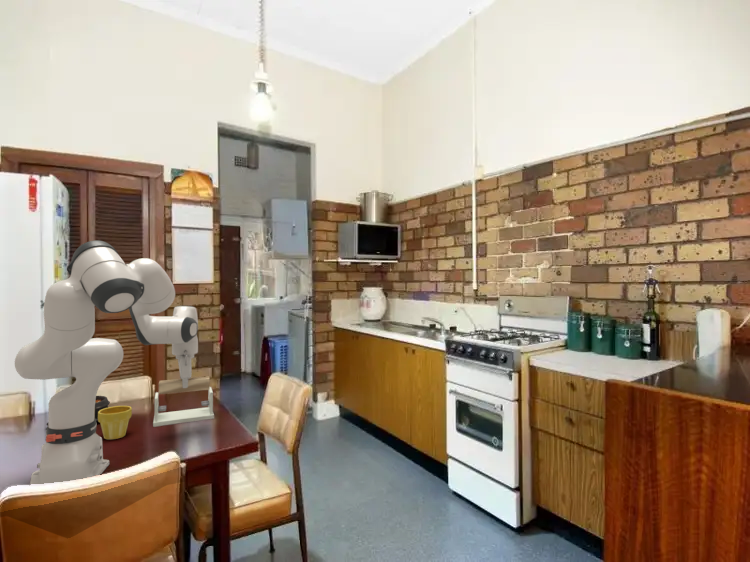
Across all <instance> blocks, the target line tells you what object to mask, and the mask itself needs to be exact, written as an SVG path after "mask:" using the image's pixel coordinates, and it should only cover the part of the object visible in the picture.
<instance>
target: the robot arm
mask: <svg viewBox="0 0 750 562" xmlns="http://www.w3.org/2000/svg"><path fill="white" fill-rule="evenodd" d="M66 271H67V273H68V274H69V275H70V276H69V277H68V278H66V279H63V280H62V279H61V280H58V281H56V282H55V283H53V284H52V285H50V286H49V287H48V289H47V290H46V293H45V298H44V302H43V320H44V331H43V332H44V333H43V334H42V335H41V336H40V337H39V338H38V339H36V340H34V341H32V342H31V343H27V344H26V345H24V346H22V347H21V348H20V349H19V350H18V352H17V354H16V356H15V359H14V369H15V371H16V372H17V374H18V375H19V376H20V377H21V378H23V379H26V380H41V381H42V380H43V381H44V380H45V381H47V380H53V379H54V380H56V379H64V378H75V381H74V382H73V383H72V384H71V385H69V386H67V387H65V388H64V389H61V390H59V391H58V392H56V393H55V394H54V395H53V396H52V397H51V398H50V399H49V401H48V422H49V424H48V426H47V425H46V426H47V427H46V431H45V442H44V444H42V445H41V456H40V462H38V463H37V464H36V468H37V470H35V471H33V472H32V473H31V477H30V482H29V485H30V484H44V483H54V482H63V481H70V480H76V479H83V478H87V477H92V476H95V475H100V474H101V475H102V474H103V472H104V471H105V470H106V469H107V468H108V467H109V465H110V460H109V459H104V453H103V438H102V437H101V436H100V435H99V434H98V433H97V426H98V425H97V422H96V419H95V400H96V396H97V394H98V390H99V388H100V386H101V385H102V383H103V382H104V380H105V379H106V378H107V377H108V376H109V375H110V374H111V373H113V372H114V371H115V370H117V369H118V368H119V366H120V365H121V363H122V362H123V360H124V349H123V347H122V345H121V343H119V341H118V340H117V339H113V338H102V337H94V338H93V336H94V335H95V331H96V325H95V324H96V320H95V318H96V314H95V312H96V310H95V307H96V308H97V309H98V310H99V311H101V312H102V313H105V314H120V313H122V312H125V311H127V310H128V311H129V315H130V317H131V320H132V324H133V326H134V328H135V334H136V335H135V336H136V339H137V340H138V341H139V343H141V344H143V345H144V346H151V345H163V344H164V345H170V344H171V354H172V355H173V356H175V360H177V363H178V369H179V379H182V387H183V388H187V387H188V379H189V378H192V375H193V374H192V368H193V367H192V359H194V358H195V355H196V354H198V353H199V338H198V331H199V318H198V312H197V308H196V307H195V306H191V305H177V306H175V307H173V312H172V316H160V315H159V316H155V314H159V313H162V312H164V311H166V310H167V309H168V308H170V306H172V304H173V302H175V298H176V289H175V286H174V284H173V282H172V280H171V278H170V276H169V275H168V273H167V271H165V269H164V268H163V267H162V265H161V264H159V263H158V262H157V261H155V260H153V259H152V258H149V257H147V258H146V257H143V258H138V259H137V258H136V259H134V260H132V261H131V262H130V263H125V261H124V259H122V258H121V256H120V255H119V253H118V250H117V249H115V248H114V247H113V246H112V245H111V244H110V243H108V242H106V241H103V240H97V239H96V240H90V241H87V242H84V243H82V244H81V245H79V246H78V247H77V248H76V249H75V251H74V253H73V254H72V257H71V259H70V263H68V265H67V267H66Z"/></svg>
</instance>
